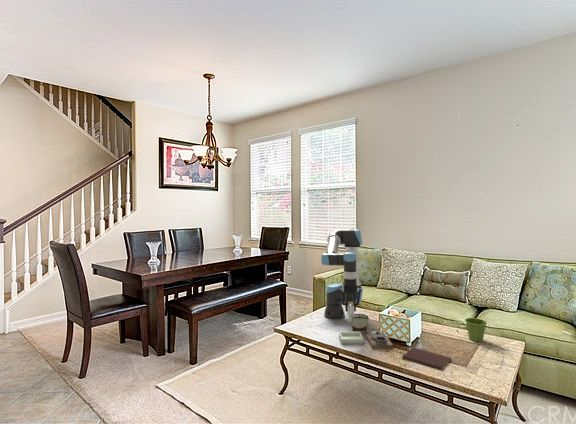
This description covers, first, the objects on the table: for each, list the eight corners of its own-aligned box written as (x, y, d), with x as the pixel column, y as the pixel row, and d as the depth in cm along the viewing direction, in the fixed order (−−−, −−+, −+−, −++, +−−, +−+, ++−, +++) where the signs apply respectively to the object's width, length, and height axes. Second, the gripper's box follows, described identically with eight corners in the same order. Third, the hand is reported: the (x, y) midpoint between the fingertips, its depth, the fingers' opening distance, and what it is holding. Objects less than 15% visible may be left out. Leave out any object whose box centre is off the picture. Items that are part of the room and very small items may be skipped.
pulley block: (366, 337, 205) (366, 328, 205) (385, 337, 205) (385, 328, 205) (371, 348, 189) (371, 339, 189) (393, 348, 189) (393, 339, 189)
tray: (339, 336, 208) (339, 331, 208) (359, 336, 207) (359, 331, 207) (341, 344, 196) (341, 339, 196) (363, 344, 196) (363, 339, 195)
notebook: (413, 350, 188) (413, 346, 188) (450, 360, 174) (450, 356, 174) (402, 359, 177) (402, 355, 177) (441, 371, 163) (441, 367, 163)
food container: (367, 328, 221) (367, 313, 221) (369, 331, 215) (369, 316, 215) (349, 328, 222) (349, 313, 222) (350, 331, 216) (349, 316, 216)
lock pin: (347, 320, 203) (347, 304, 203) (352, 320, 203) (352, 304, 203) (348, 322, 200) (348, 305, 200) (353, 322, 200) (353, 305, 200)
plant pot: (465, 341, 197) (464, 322, 197) (464, 334, 207) (464, 316, 207) (488, 345, 191) (488, 325, 191) (486, 337, 202) (486, 319, 202)
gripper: (338, 279, 198) (338, 318, 198) (364, 279, 197) (364, 318, 197) (336, 277, 205) (337, 314, 205) (361, 276, 205) (362, 314, 205)
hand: (350, 316), depth 201 cm, fingers closed on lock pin, 2 cm apart
